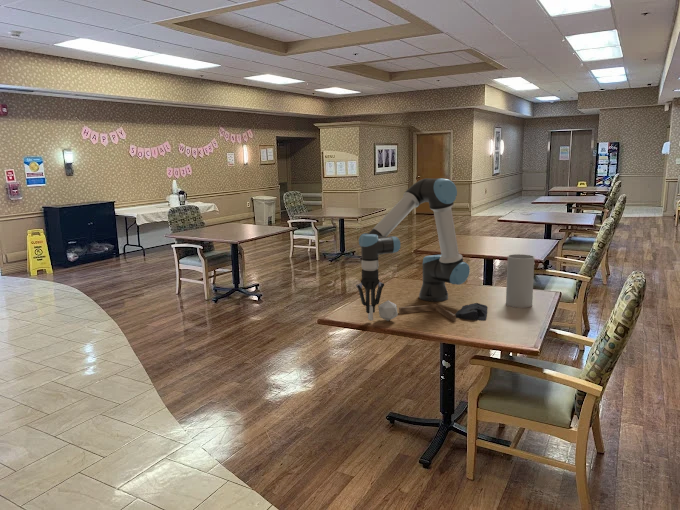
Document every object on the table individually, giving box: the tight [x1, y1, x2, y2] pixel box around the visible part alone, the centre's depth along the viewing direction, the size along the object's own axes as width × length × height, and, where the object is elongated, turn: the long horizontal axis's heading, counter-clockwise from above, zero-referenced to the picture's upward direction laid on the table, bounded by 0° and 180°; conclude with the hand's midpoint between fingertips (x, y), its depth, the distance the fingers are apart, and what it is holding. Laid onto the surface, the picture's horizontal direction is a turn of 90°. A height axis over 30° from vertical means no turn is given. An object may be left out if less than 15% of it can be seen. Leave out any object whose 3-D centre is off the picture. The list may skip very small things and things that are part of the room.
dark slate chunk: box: [454, 302, 488, 322], centre depth 247 cm, size 15×22×5 cm
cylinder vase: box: [505, 253, 535, 309], centre depth 258 cm, size 12×12×25 cm
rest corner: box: [398, 303, 457, 322], centre depth 243 cm, size 20×20×3 cm
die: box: [378, 299, 399, 322], centre depth 238 cm, size 8×9×10 cm
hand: (370, 319), depth 237 cm, fingers closed
